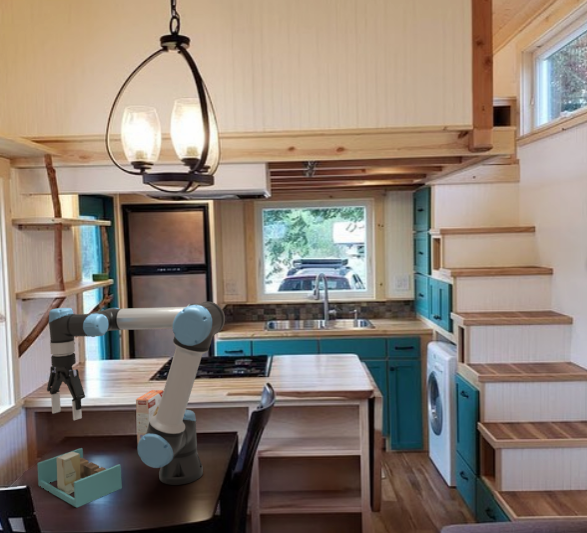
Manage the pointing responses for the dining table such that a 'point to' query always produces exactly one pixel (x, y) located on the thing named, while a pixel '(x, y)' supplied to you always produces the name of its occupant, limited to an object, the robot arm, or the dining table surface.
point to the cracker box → (146, 410)
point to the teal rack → (80, 482)
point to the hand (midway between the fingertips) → (66, 415)
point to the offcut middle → (89, 469)
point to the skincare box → (68, 471)
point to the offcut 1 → (82, 462)
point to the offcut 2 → (99, 470)
